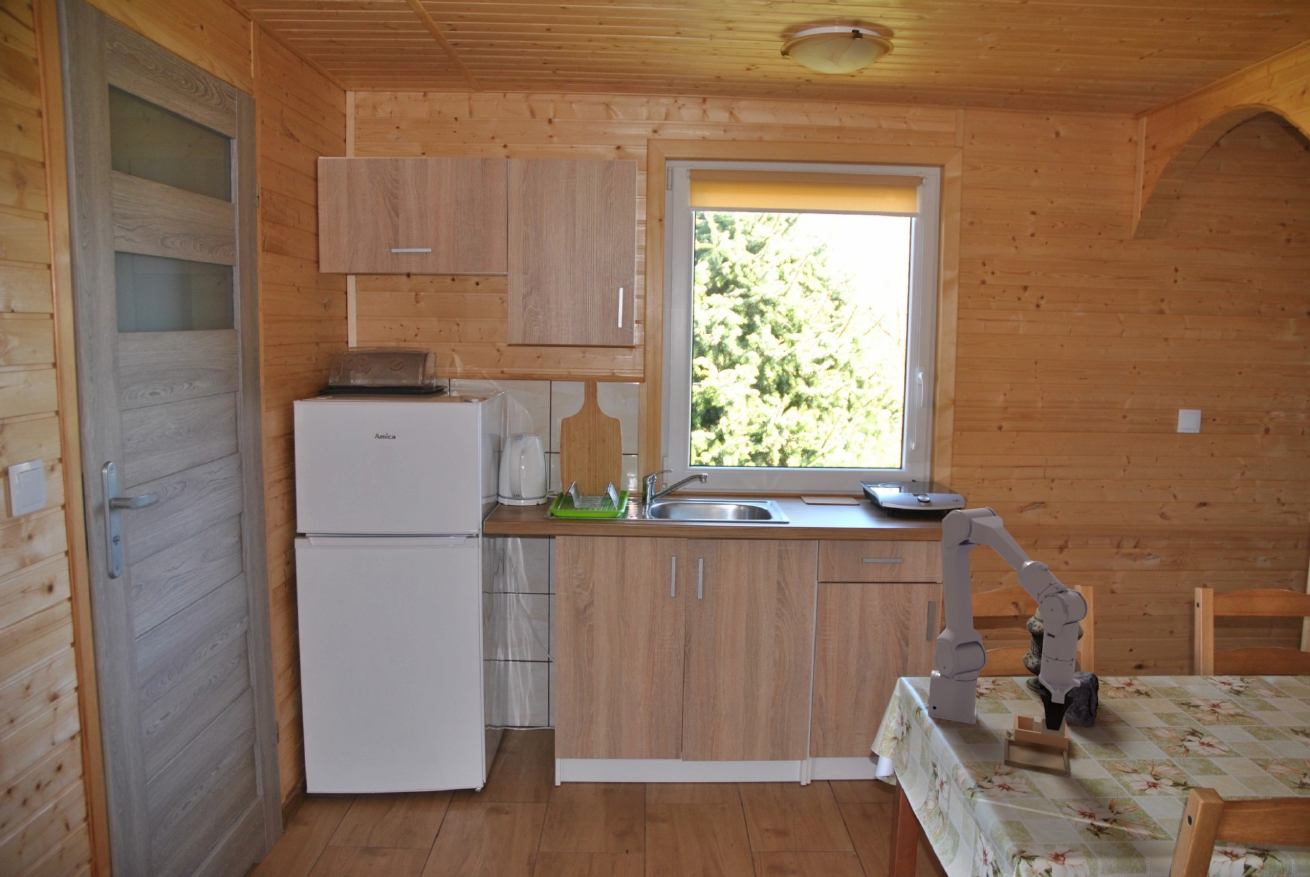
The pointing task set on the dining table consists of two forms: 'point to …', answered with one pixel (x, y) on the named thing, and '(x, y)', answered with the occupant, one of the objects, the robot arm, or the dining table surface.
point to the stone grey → (1036, 723)
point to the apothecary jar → (1039, 650)
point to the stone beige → (1052, 732)
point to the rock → (1083, 700)
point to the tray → (1036, 756)
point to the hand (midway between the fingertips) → (1052, 725)
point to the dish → (1036, 733)
